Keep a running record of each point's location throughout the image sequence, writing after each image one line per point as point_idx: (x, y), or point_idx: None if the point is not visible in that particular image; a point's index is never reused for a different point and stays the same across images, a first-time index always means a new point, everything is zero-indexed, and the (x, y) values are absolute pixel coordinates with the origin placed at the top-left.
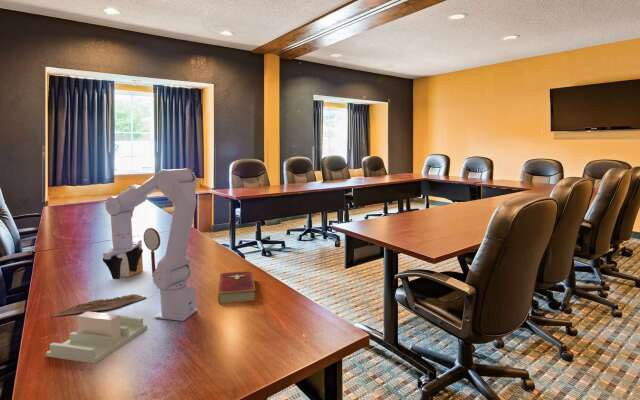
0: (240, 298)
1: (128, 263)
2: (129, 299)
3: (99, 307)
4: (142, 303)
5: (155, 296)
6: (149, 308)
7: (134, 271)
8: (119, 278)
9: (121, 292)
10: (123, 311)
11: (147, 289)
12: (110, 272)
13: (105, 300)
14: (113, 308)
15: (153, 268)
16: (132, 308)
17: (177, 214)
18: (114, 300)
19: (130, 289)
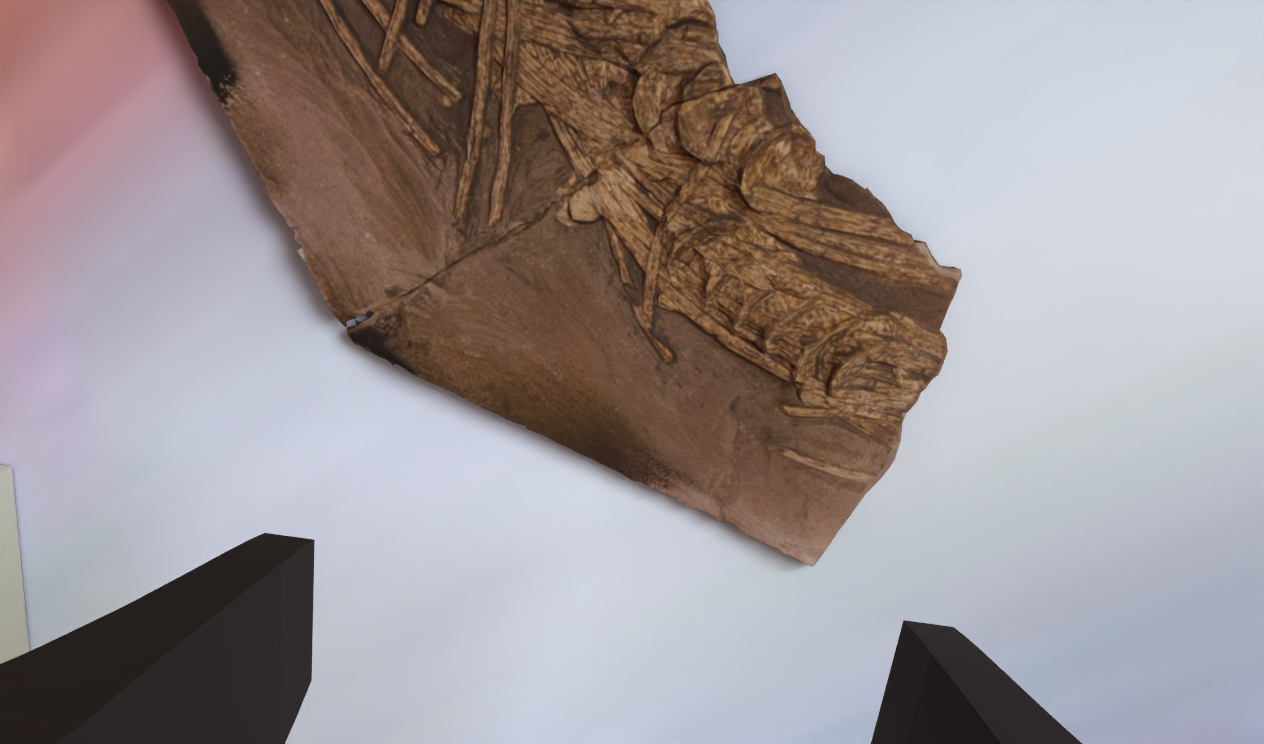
0: None
1: (999, 740)
2: (744, 364)
3: (381, 94)
4: (641, 593)
5: None
6: (501, 741)
7: (875, 742)
8: (295, 689)
9: (1090, 20)
10: (360, 495)
11: (1210, 397)
12: (125, 612)
13: (637, 16)
14: (385, 335)
15: None
16: (467, 554)
17: None
18: (670, 163)
19: (1240, 101)
